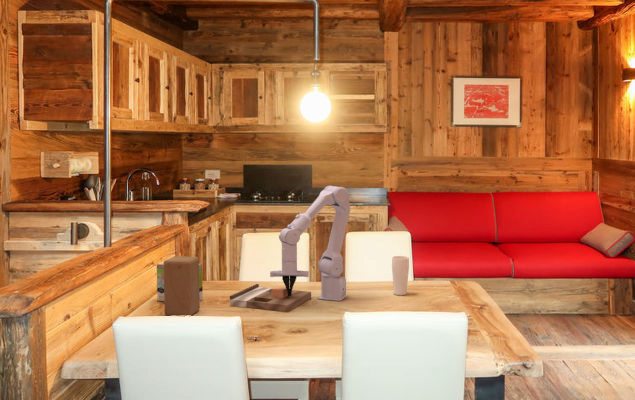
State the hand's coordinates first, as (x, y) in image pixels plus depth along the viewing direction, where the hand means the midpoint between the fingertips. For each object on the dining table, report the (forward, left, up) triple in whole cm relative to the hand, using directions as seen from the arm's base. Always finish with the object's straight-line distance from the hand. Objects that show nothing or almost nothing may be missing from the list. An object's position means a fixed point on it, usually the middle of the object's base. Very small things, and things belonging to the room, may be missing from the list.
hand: (289, 295), depth 246 cm
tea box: (+42, +11, -3) cm, 43 cm away
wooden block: (+31, +26, -3) cm, 40 cm away
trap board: (+7, 0, -3) cm, 7 cm away
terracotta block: (+4, -1, -1) cm, 4 cm away
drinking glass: (-35, -30, -3) cm, 47 cm away
